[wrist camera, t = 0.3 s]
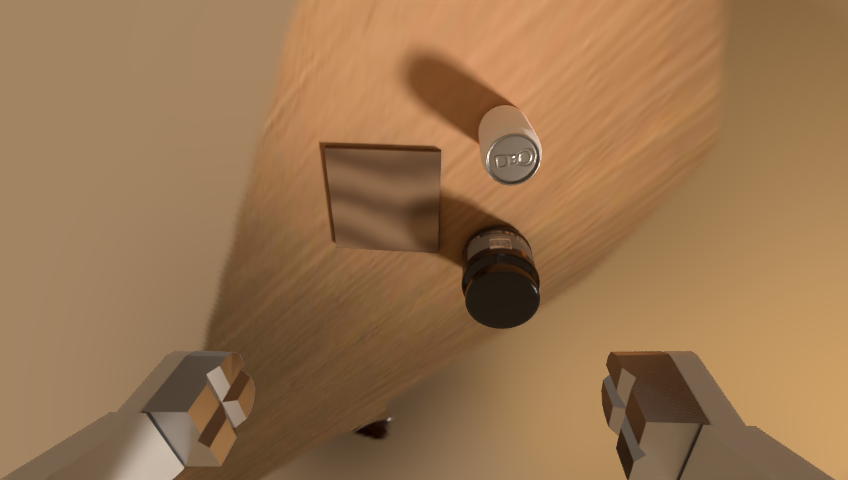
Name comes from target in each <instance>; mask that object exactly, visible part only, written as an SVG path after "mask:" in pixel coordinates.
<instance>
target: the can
mask: <svg viewBox="0 0 848 480" xmlns="http://www.w3.org/2000/svg"><path fill="white" fill-rule="evenodd" d="M478 135H479V145H480V153H481V160H482V164H483V167H484V169H485V171H486V172H487V174H488V175H489V176H490V177H492V178H493V179H494V180H495V181H497V182H499V183H501V184H504V185H518V184H521V183H524V182H525V181H527V180H529V179H530V178H531V177H532V176H533V175H534V174H535V173H536V171H537V169H538V167H539V164H540V161H541V156H542V148H541V144H540V141H539V139H538V137H537V135H536V133H535V131H534V130H533V128H532V126H531V124H530V123H529V121H528V119H527V118H526V116H525V115H524V113H523V112H522V111H521V110H519V109H518V108H516V107H514V106H510V105H501V106H497V107H495V108H493V109H491V110H490V111H488V112H487V113H486V114H485V115H484V117H483V118H482V120H481V122H480V125H479V130H478Z"/></svg>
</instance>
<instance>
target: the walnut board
mask: <svg viewBox="0 0 848 480" xmlns="http://www.w3.org/2000/svg"><path fill="white" fill-rule="evenodd" d="M324 153H325V160H326V168H327V176H328V184H329V192H330V200H331V208H332V216H333V224H334V231H335V239H336V247H337V248H353V249H372V250H390V251H409V252H427V253H438V237H439V204H440V172H441V150H423V149H394V148H366V147H337V146H326V147H325V148H324Z"/></svg>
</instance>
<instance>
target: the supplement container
mask: <svg viewBox="0 0 848 480" xmlns="http://www.w3.org/2000/svg"><path fill="white" fill-rule="evenodd" d="M462 262H463V277H462V291H463V294H464V296H465V302H466V307H467V310H468V312H469V313H470V315H471V316H472V317H473V318H474V319H475V320H476V321H477V322H479V323H481V324H483V325H485V326H488V327H491V328H498V329H505V328H512V327H516V326H519V325H521V324H523V323H525V322H526V321H528V320H529V319H530V318H531V317H532V316H533V315H534V314H535V313H536V311H537V309H538V307H539V303H540V294H539V286H540V280H539V275H538V272H537V270H536V268H535V264H534V261H533V257H532V252H531V248H530V245H529V243H528V241H527V240H526V238H525V237H524V236H523V235H522V234H520V233H519V232H518V231H516V230H514V229H512V228H509V227H504V226H491V227H487V228H484V229H481V230H479V231H477V232H476V233H475V234H473V235H472V236H471V237H470V238H469V239H468V241H467V242H466V244H465V246H464V249H463V253H462Z"/></svg>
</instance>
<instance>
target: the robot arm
mask: <svg viewBox="0 0 848 480" xmlns="http://www.w3.org/2000/svg"><path fill="white" fill-rule="evenodd" d="M244 364H245V363H244V361H243V359H242V358H241V356H240V354H239V353H234V352H206V351H174V352H172V353H170V354H168V355H166V356H165V357H164V358H163V360H162V361H161V362H160V363H159V364H158V365H157V367H156V368H155V369H154V370H153V371H152V372H151V373H150V374H149V376H148V377H147V378H146V379H145V380H144V381H143V383H142V384H141V385H140V386H139V387H138V388H137V389H136V391H135V392H134V393H133V394H132V395H131V396H130V397H129V398H128V400H127V401H126V402H125V403H124V404H123V405H122V407H121V408H120V409H119V410H118V411H117V412H109V413H108V414H106V415H105V416H103V417H101V418H100V419H98V420H96V421H95V422H93V423H91V424H90V425H88V426H87V427H85V428H84V429H82V430H80V431H78V432H77V433H75V434H73V435H72V436H70V437H69V438H67V439H65V440H64V441H62V442H60V443H59V444H57V445H55V446H54V447H52V448H51V449H49V450H47V451H46V452H44V453H42V454H41V455H39V456H38V457H36V458H34V459H33V460H31V461H29V462H28V463H26V464H24V465H23V466H21V467H19V468H18V469H16V470H15V471H13V472H11V473H10V474H8V475H6V476H5V477H3V478H1V479H0V480H172V479H173V478H174V477H176V476H177V475H178V474H179V473H180V472H181V471H182V470H183V469H184V467H183V466H221V465H222V463H223V461H224V460H225V458H226V456H227V454H228V452H229V450H230V448H231V447H232V445H233V443H234V441H235V439H236V437H237V436H236V430H235V427H237V426H238V425H239V424H240V423H242V422H243V421H244V420H245V419H247V417H248V415H249V413H250V411H251V409H252V406H253V402H254V397H255V388H254V383H253V381H252V378H251V377H250V376H249V375H248V374H246V373H245V372H244V371H242V368H243V366H244ZM606 366H607V368H608V371H609V373H610V375H609V376H607V377H606V378H605V379H604V380H603V385H602V391H601V392H602V406H603V410H604V414H605V418H606V421H607V424H608V427H609V428H610V429H611V430H612V431H614V432H615V433H616V434H617V435H618V436H619V438H618V442H617V446H616V450H617V453H618V455H619V458H620V461H621V464H622V467H623V470H624V472H625V475H626V478H627V480H835V479H833V478H831V477H830V476H829V475H827V474H826V473H824V472H823V471H821V470H820V469H818V468H817V467H815V466H814V465H812V464H811V463H809V462H808V461H806V460H805V459H803V458H802V457H801V456H799V455H797V454H796V453H794V452H793V451H792V450H790V449H789V448H787V447H786V446H784V445H782V444H781V443H780V442H778V441H777V440H775V439H774V438H772V437H771V436H769V435H768V434H766V433H765V432H763V431H762V430H760V429H759V428H757V427H756V426H746V425H745V423H744V422H743V420H742V419H741V418H740V416H739V415H738V413H737V412H736V410H735V409H734V408H733V406H732V405H731V403H730V402H729V400H728V399H727V397H726V396H725V395H724V393H723V391H722V390H721V389H720V387H719V386H718V384H717V383H716V382H715V380H714V378H713V377H712V376H711V374H710V373H709V371H708V370H707V369H706V367H705V365H704V364H703V362H702V361H701V360H700V358H699V357H698V355H696V354H695V353H693V352H692V351H665V352H661V351H650V352H649V351H648V352H647V351H645V352H643V351H642V352H611V353H610V354H609V356H608V359H607V364H606Z"/></svg>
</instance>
